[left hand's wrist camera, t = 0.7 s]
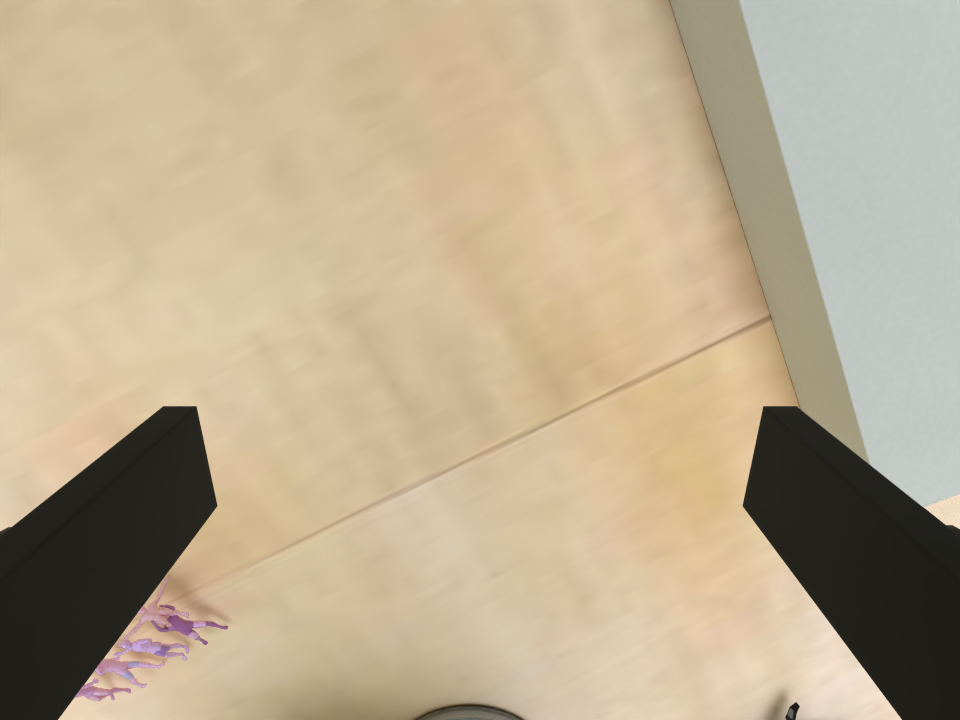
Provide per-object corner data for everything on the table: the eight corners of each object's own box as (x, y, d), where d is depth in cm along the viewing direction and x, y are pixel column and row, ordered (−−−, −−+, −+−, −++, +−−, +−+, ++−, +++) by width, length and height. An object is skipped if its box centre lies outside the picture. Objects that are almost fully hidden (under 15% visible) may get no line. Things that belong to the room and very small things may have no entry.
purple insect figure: (102, 734, 48) (11, 719, 43) (122, 666, 52) (41, 645, 47) (254, 649, 44) (173, 622, 39) (262, 583, 48) (189, 552, 44)
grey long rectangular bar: (937, 411, 40) (1036, 466, 33) (816, 459, 41) (885, 521, 34) (739, -491, 24) (847, -760, 17) (552, -362, 25) (580, -560, 18)
